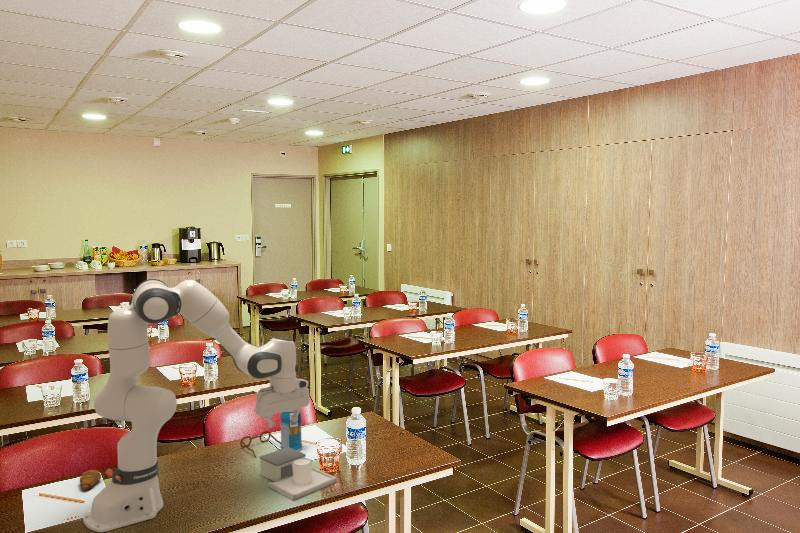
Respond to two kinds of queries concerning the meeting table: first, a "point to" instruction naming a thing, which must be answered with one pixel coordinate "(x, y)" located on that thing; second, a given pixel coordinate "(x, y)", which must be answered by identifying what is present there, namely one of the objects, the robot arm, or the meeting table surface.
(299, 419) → the beverage bottle
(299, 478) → the white cup
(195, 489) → the meeting table surface
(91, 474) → the croissant
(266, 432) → the glasses
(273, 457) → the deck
